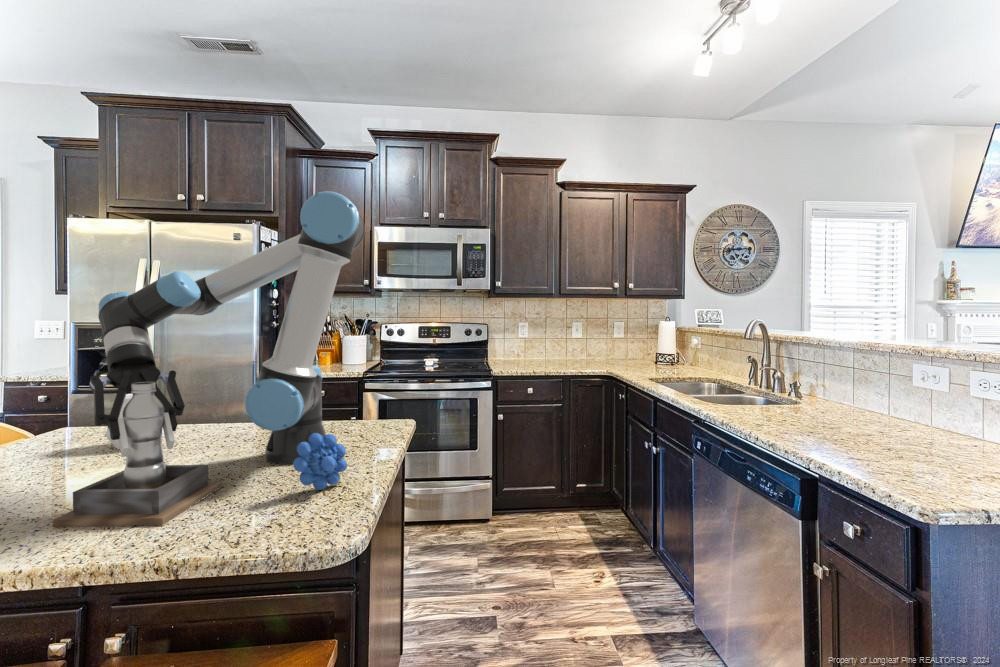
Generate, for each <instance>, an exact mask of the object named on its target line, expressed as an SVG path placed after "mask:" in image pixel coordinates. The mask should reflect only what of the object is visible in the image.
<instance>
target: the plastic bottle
mask: <svg viewBox="0 0 1000 667" xmlns="http://www.w3.org/2000/svg"><path fill="white" fill-rule="evenodd" d="M154 392H156V387H155V382H138V383H132V385H131V393H130V394H133V397H132V398H131V400H130V401H129V402H128V403H127V405H126V406H125V408H124V410H123V413H122V414H123V419H124V424H125V430H126V436H127V441H128V447H129V448H128V453H127V456H125V457H126V460H125V467H124V469H123V471H124V476H123V480H124V485H125V487H126V488H127V489H152V488H155V487H158V486H160V485H161V484H162V483H163V482H164V480H165V476H166V467H165V465H166V463H165V460H164V452H163V437H162V428H163V421H164V414H165V408H164V405H163V404H162V402H161V401H160V400H159V399H158V398H157V397H156V396H155V394H154ZM161 437H162V438H161Z"/></svg>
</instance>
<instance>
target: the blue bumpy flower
mask: <svg viewBox="0 0 1000 667" xmlns="http://www.w3.org/2000/svg"><path fill="white" fill-rule="evenodd" d="M337 440H338V439H337V437H336V435H334V434H332V433H326V435H325V436H324V437H322V435H321V434H319V433H313V434H311V435H310V437H309V443H308V442H301V443H300V444H299V445H298V446H297V452H298V454H299V455H300V456H302V457H297V458H296V459H295V460H294V462H293V463H292V467H293V469H294V470H295V471H296V472H298V473H300V474H299V480H300V482H301V485H304V486H310V485H312V486H313V487H314V489H316V490H317V491H322V490H325V489H326V487H327V486H328V484H329V485H330V486H331V485H333V486H334V485H337V484H338V483H339V482H340V480H341V475H340V473H343V472H345V471H347V468H348V462H347V460H346V459H345V458H344V457H345V456H346V454H347V449H346V447H345V445H343V444H341V443H338V441H337Z"/></svg>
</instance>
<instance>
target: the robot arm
mask: <svg viewBox="0 0 1000 667" xmlns="http://www.w3.org/2000/svg"><path fill="white" fill-rule="evenodd" d="M299 217H300V225H301V227H302V228H301V232H300V233H299V234H297V235H295V236H292V237H291V238H287V239H286V240H284V241H282V242H279V243H277V244H275V245H272V246H271V247H268V248H265V249H264V250H261V251H258V252H257V253H255V254H253V255H250V256H247V257H246V258H243V259H242V260H240V261H239V260H238V261H237V262H235V263H232V264H230V265H228V266H226V267H223V268H221V269H219V270H217V271H214V272H213V273H210V274H208V275H206V276H204V277H201V278H199V279H196V280H194V279H193V278H192V277H191V276H190V275H188V274H187V273H185V272H184V271H182V270H181V271H180V270H174V271H173V272H170V273H168V274H166V275H163V276H161V277H159V278H158V279H157V280H155V281H154V282H151V283H150V284H148V285H145V287H143V288H141V289H138V290H137V291H135V292H134V293H131V292H128V291H118V292H114V293H113V292H112V293H108V294H106V295H104V296H103V297H102V298H101V299H100V301H99V302H98V315H97V316H98V321H99V324H100V327H101V331H102V332H101V333H102V336H103V337H102V340H103V345H104V350H105V351H104V353H105V358H106V364H107V370H108V372H107V374H106V375H104V376H98V375H91V376H90V380H89V389H90V390H91V391H92V393H93V406H94V408H93V409H94V410H93V412H94V416H93V417H94V425H95V426H99V427H100V426H102V425H104V426H107V428H108V429H109V431H110V438H111V439H112V440H117V439H119V445H120V450H119V451H120V456H121V458H123V457H126V456H127V453H128V448H129V447H128V441H127V436H126V430H125V424H124V419H123V418H119V415H120V412H121V409H122V406H123V402H124V399H125V397H126V394H131V385H132V383H138V382H155V387H156V392H154V394H155V396H156V397H157V398H158V399H159V400H160V401H161V402H162V404H163V405H164V408H165V414H164V421H163V431H164V435H163V436H164V439H165V443H166V447H167V450H170V449H171V450H172V449H173V447H174V444H175V441H176V439H175V434H174V432H177V431H176V430H177V429H178V428H177V427H178V421H177V416H182V415H183V413H184V409H185V406H186V405H185V402H184V400H183V397H182V394H181V392H180V389H179V387H178V383H177V381H176V375H177V371H175V370H169V372H163V371H161V370H160V369H159V368H158V367H157V365H156V360H155V357H154V353H153V348H152V343H151V340H150V334H149V328H150V327H153V326H155V325H156V324H158V323H160V322H161V321H164V320H165V319H167V318H169V317H171V316H172V315H173V316H174V315H193V316H203V315H209V314H211V313H213V312H215V311H217V309H218V307H219V306H221V305H223V304H225V303H227V302H230V301H233V300H234V299H237V298H238V297H240V296H244V295H246V294H247V293H249V292H252V291H255V290H256V289H258V288H261V287H263V286H265V285H267V284H270V283H272V282H274V281H276V280H279V279H280V278H283V277H284V276H287V275H289V274H292V273H294V272H296V271H297V272H296V275H295V279H294V282H293V284H292V288H291V292H290V295H289V299H288V302H287V305H286V310H285V313H284V317H283V319H282V323H281V326H280V329H279V333H278V337H277V340H276V342H275V343H276V344H275V347H274V350H273V353H272V356H271V357H270V358H269V359H267V360H265V361H263V362H262V365H261V368H260V371H259V375H258V377H257V381H256V382H255V383H254V384H253V385H252V386H251V388H250V389H249V391H248V392H247V394H246V396H245V400H244V408H245V409H244V410H245V412H246V414H247V416H248V418H249V419H250V420H251V422H252V423H253V424H254V425H256V426H257V427H259V428H260V429H263V430H266V431H271V432H270V434H269V438H268V441H267V444H266V447H265V450H264V451H265V454H264V456H265V457H264V458H265V461H267V462H268V463H273V464H279V465H280V464H282V465H283V464H284V465H287V464H291V465H292V464H293V462H294V460H295V459H296V458H297V457H302V456H300V455H299V454H298V452H297V446H298V445H299V444H300V443H301V442H308V443H309V437H310V435H311V434H313V433H319V434H321V435H322V437H324V436H325V435H327V433H326V430H325V428H324V425H323V397H322V396H323V393H322V392H323V386H322V385H323V376H322V370H321V368H320V367H319V366H318V365H317V366H316V365H313V364H314V361H315V358H316V354H317V350H318V348H319V344H320V340H321V338H322V334H323V332H324V330H323V329H324V327H325V324H326V320H327V317H328V314H329V309H330V306H331V302H332V299H333V297H334V293H335V289H336V286H337V282H338V279H339V275H340V272H341V269H342V267H343V266H345V265H347V264H349V263H350V262H351V259H352V256H353V253H354V250H355V249H357V248H358V247H359V246H360V245H361V243H362V242H363V240H364V238H365V234H366V227H365V226H366V225H365V222H364V220H363V218H362V215H361V214H360V212H359V211H358V209H357V207H356V205H355V204H354V203H353V202H352V201H351V199H349V198H348V197H346V196H345V195H343V194H341V193H339V192H336V191H331V190H330V191H329V190H326V191H320V192H316V193H315V194H313V195H311V196H309V197H308V198H307V199H306V200H305V201H304V203H303V204H302V207H301V209H300V215H299ZM158 380H161V381H162V383H163V384H164V385H166V390H167V393H168V396H169V399H170V401H169V400H168V398H167V397H166V396H165V395H164V393H163V392H162V391H161V389H160V388H159V387H158V384H157V381H158ZM107 383H108V384H110V385H112V386H113V387H115V389H117V392H116V396H115V398H114V402H113V404H112V407H111V410H110V414H105V393H104V392H105V388H106V387H107Z"/></svg>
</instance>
